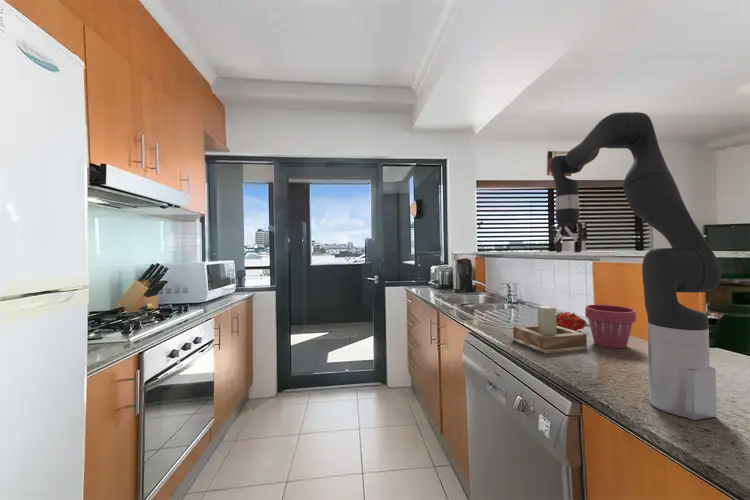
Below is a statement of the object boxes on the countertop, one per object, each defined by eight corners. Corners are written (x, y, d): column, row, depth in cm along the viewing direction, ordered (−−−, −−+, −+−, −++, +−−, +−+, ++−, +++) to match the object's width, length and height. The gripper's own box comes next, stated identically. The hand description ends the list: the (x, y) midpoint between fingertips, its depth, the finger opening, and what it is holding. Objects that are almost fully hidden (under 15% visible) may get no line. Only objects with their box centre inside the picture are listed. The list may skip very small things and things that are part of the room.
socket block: (586, 349, 106) (586, 334, 106) (545, 353, 102) (545, 337, 102) (550, 336, 122) (549, 323, 122) (513, 340, 118) (513, 326, 118)
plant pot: (645, 352, 102) (644, 312, 102) (593, 349, 106) (593, 310, 106) (625, 340, 115) (624, 305, 115) (580, 337, 120) (580, 303, 120)
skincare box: (557, 344, 109) (556, 308, 109) (543, 343, 109) (542, 308, 110) (550, 339, 115) (550, 305, 115) (537, 338, 116) (537, 305, 116)
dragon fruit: (550, 333, 133) (584, 340, 128) (553, 324, 127) (589, 332, 121) (552, 314, 137) (585, 321, 132) (555, 305, 131) (590, 312, 126)
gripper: (544, 210, 124) (544, 252, 124) (574, 205, 110) (575, 252, 110) (560, 211, 126) (561, 252, 125) (592, 206, 112) (593, 252, 112)
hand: (568, 252), depth 118 cm, fingers open, 8 cm apart
